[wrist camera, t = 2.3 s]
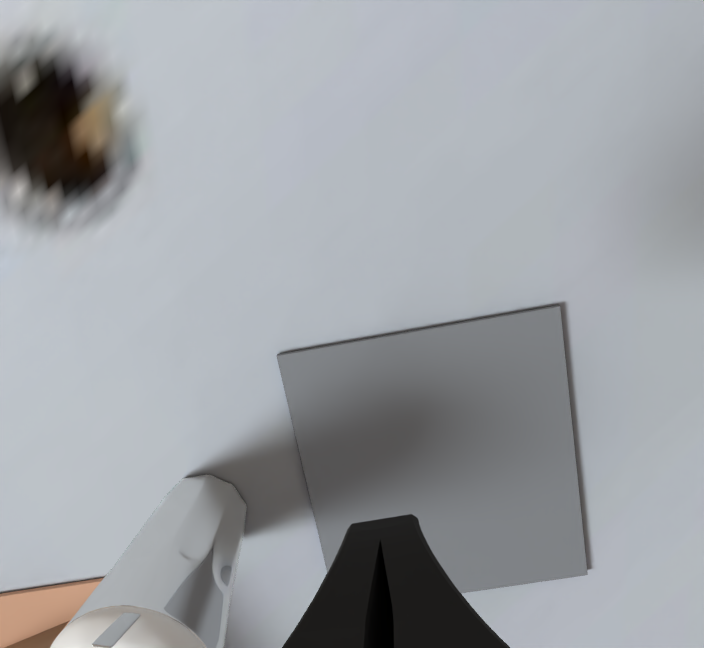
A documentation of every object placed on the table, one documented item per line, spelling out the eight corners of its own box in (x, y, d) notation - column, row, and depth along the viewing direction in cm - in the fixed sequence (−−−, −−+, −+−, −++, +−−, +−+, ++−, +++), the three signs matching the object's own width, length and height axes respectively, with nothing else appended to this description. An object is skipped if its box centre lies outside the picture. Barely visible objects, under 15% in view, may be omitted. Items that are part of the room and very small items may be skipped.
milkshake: (271, 446, 23) (205, 658, 14) (259, 567, 25) (191, 836, 15) (150, 431, 23) (-3, 633, 14) (145, 553, 25) (4, 813, 15)
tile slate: (585, 571, 24) (587, 574, 24) (336, 607, 25) (336, 611, 25) (558, 304, 22) (560, 306, 21) (277, 354, 22) (276, 356, 22)
